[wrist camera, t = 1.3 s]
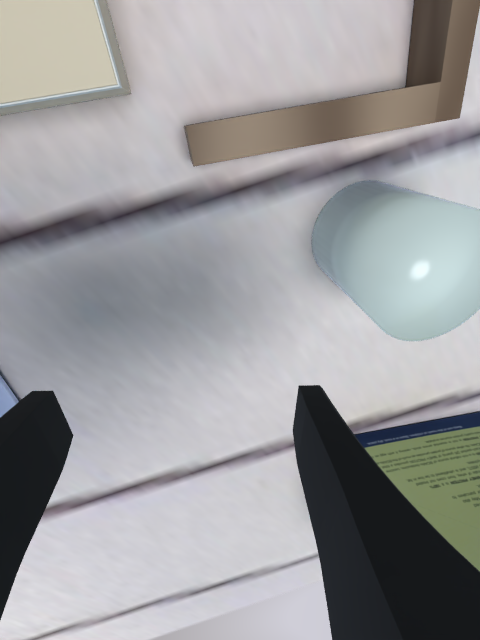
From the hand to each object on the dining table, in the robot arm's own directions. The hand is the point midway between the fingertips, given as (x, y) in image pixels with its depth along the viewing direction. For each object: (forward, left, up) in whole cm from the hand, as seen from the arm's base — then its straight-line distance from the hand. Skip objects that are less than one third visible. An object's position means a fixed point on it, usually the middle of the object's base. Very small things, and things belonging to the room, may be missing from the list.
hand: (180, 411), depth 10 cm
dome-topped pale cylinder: (+11, 0, -11) cm, 15 cm away
